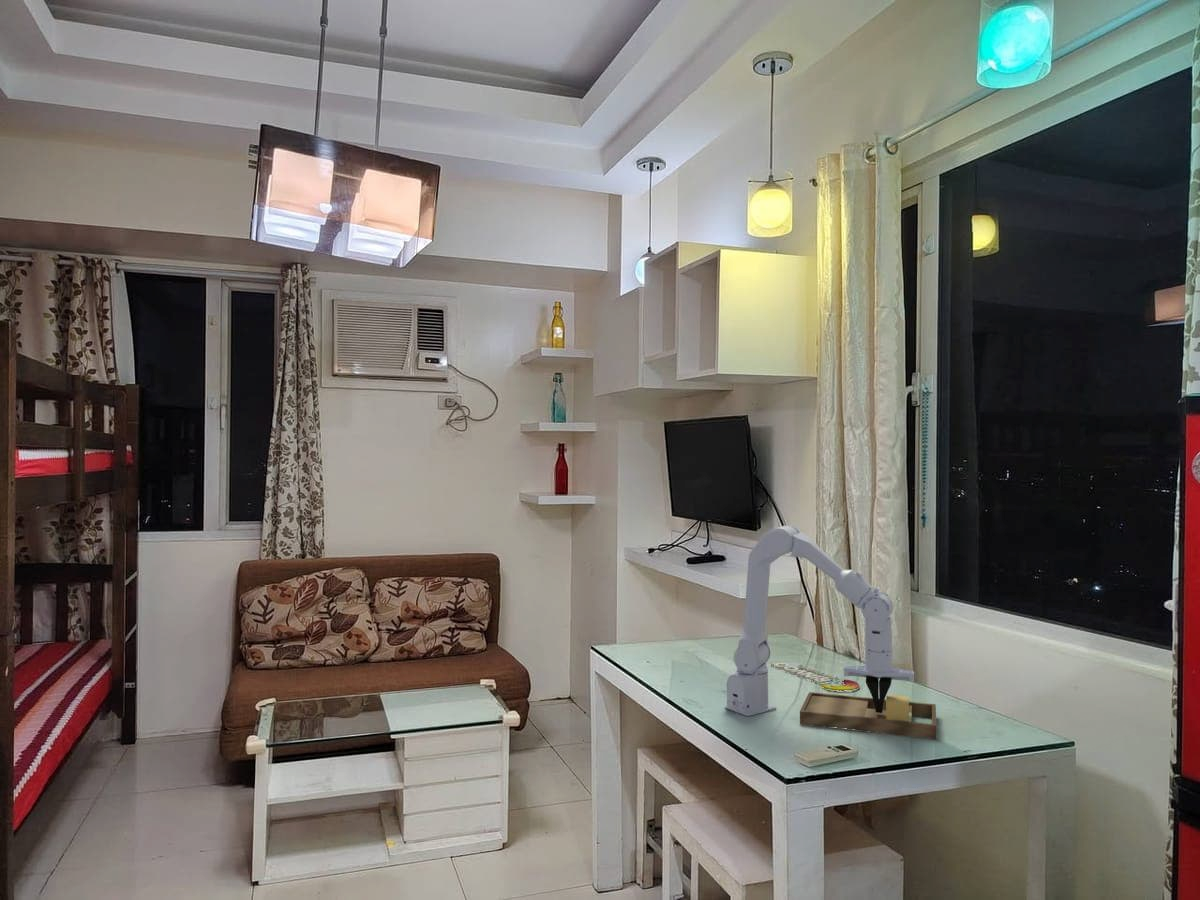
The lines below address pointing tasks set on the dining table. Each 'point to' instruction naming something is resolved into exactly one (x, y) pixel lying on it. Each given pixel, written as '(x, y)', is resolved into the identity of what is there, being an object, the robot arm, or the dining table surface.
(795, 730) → the dining table surface
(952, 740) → the dining table surface
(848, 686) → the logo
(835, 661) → the dining table surface
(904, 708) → the block
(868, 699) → the tray
